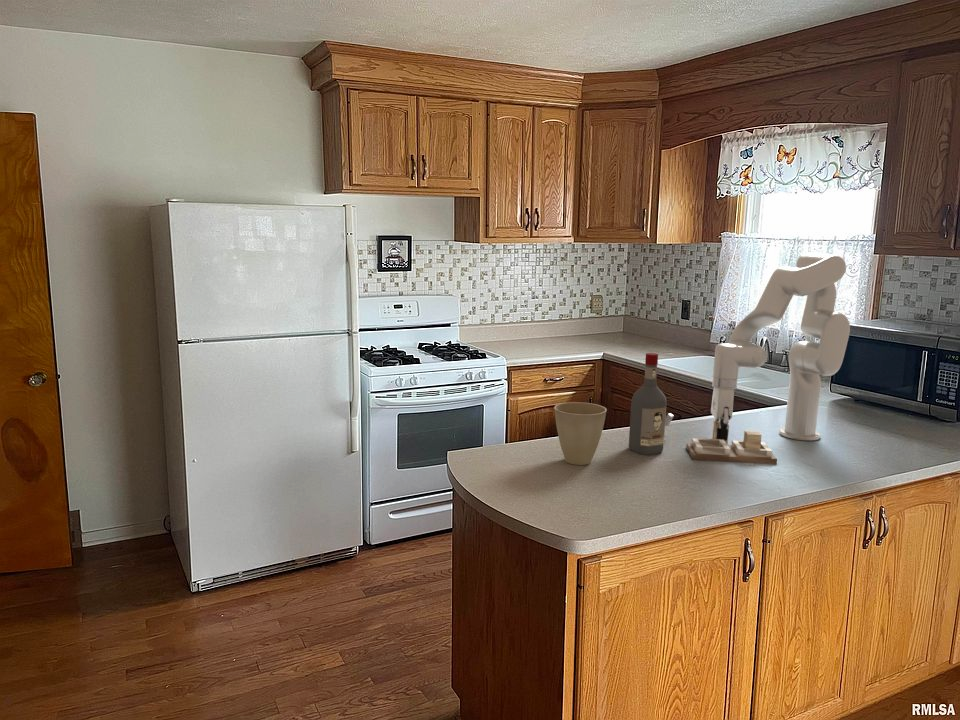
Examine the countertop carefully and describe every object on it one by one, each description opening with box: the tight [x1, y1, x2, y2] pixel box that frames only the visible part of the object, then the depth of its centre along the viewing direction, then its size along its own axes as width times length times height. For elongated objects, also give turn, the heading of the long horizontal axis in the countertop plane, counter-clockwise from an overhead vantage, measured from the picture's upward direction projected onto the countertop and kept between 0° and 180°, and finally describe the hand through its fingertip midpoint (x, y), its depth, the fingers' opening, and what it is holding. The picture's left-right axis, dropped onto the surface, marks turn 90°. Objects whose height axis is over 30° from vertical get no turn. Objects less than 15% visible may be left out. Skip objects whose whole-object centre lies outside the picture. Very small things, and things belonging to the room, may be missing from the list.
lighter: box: [664, 412, 674, 436], centre depth 247 cm, size 7×2×8 cm, turn 42°
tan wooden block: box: [711, 420, 730, 444], centre depth 242 cm, size 4×4×6 cm
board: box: [686, 430, 778, 465], centre depth 227 cm, size 12×24×8 cm, turn 84°
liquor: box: [628, 352, 667, 456], centre depth 229 cm, size 9×9×30 cm
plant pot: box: [554, 401, 608, 466], centre depth 218 cm, size 15×15×16 cm
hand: (720, 437), depth 243 cm, fingers closed on tan wooden block, 4 cm apart
